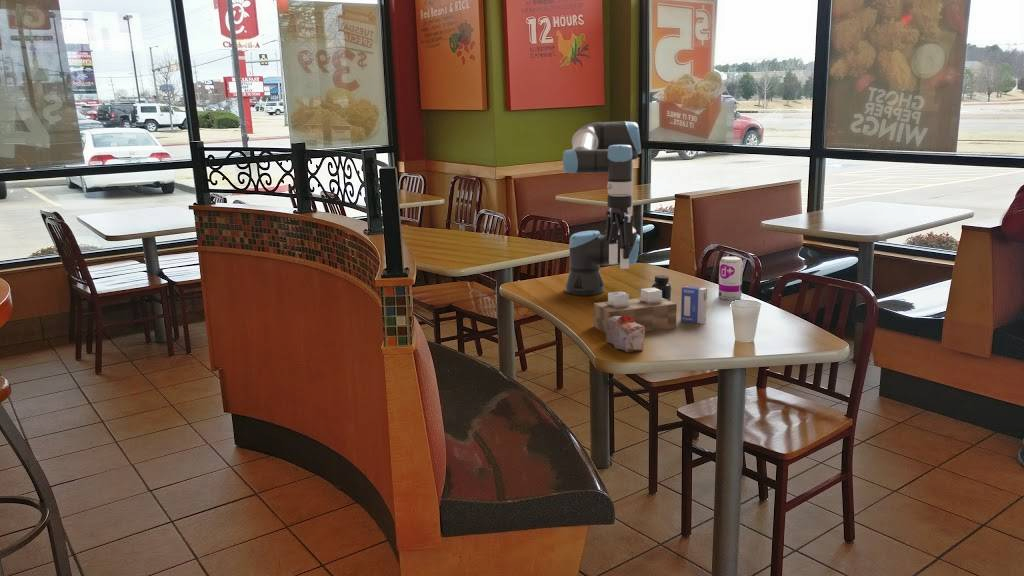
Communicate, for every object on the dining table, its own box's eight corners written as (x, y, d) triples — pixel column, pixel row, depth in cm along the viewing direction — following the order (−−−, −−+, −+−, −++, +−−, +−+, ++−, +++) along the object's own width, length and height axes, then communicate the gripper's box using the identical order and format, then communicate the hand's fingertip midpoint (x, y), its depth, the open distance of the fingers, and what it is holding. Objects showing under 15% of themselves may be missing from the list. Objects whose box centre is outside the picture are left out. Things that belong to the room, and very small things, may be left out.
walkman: (680, 321, 276) (681, 286, 273) (683, 319, 278) (685, 284, 275) (703, 324, 271) (704, 289, 268) (706, 322, 273) (707, 287, 271)
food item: (648, 351, 245) (649, 319, 242) (626, 355, 241) (626, 323, 239) (623, 339, 257) (623, 309, 254) (601, 343, 253) (601, 312, 251)
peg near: (607, 313, 268) (608, 292, 266) (621, 311, 270) (621, 291, 268) (614, 317, 263) (615, 296, 262) (628, 315, 265) (629, 294, 263)
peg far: (640, 309, 272) (640, 289, 270) (653, 307, 273) (654, 287, 272) (648, 313, 267) (648, 292, 266) (661, 311, 269) (661, 290, 267)
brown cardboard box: (593, 326, 271) (593, 303, 269) (657, 318, 279) (658, 295, 277) (609, 336, 260) (610, 311, 258) (676, 327, 268) (676, 303, 266)
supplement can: (732, 301, 299) (734, 261, 296) (713, 297, 305) (715, 258, 302) (745, 297, 304) (747, 258, 301) (726, 293, 310) (728, 255, 307)
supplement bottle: (670, 312, 286) (671, 278, 284) (650, 311, 288) (651, 278, 285) (670, 307, 293) (671, 274, 290) (651, 306, 294) (652, 274, 292)
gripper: (594, 192, 265) (594, 261, 271) (623, 199, 247) (622, 273, 252) (615, 190, 268) (615, 259, 273) (645, 197, 249) (644, 271, 255)
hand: (618, 265), depth 263 cm, fingers open, 7 cm apart
